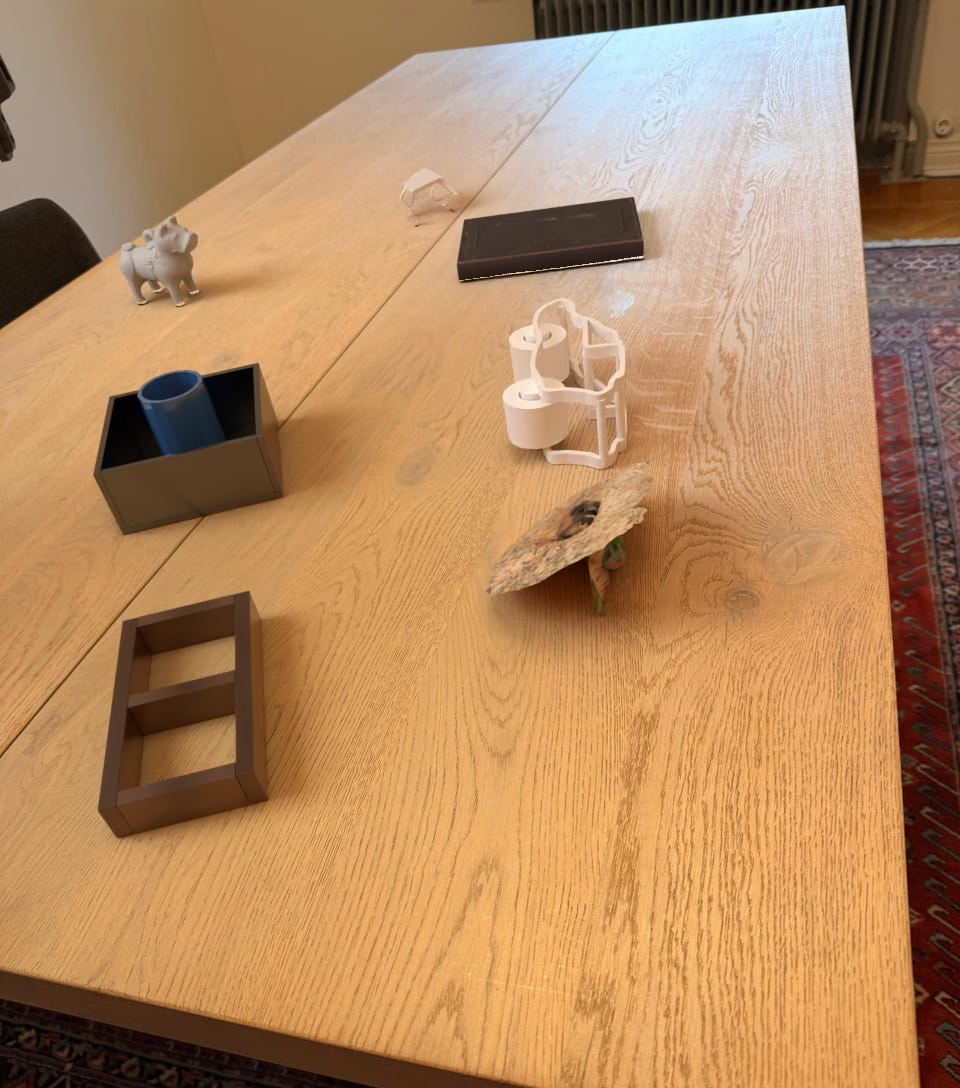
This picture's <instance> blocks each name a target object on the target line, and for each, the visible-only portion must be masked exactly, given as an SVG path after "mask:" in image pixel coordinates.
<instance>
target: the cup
mask: <svg viewBox="0 0 960 1088" xmlns="http://www.w3.org/2000/svg"><path fill="white" fill-rule="evenodd" d="M137 390H138V399H139V401H140V403H141V406H142V408H143V410H144V413H145V415H146V417H147V419H148V422H149V424H150V426H151V429H152V431H153V433H154V436H155V438H156V440H157V443H158V445H159V447H160V449H161V452H162V454H163V456H165V455H169V454H173V453H178V452H182V451H186V450H190V449H195V448H199V447H203V446H208V445H212V444H216V443H221V442H225V441H226V438H225V435H224V433H223V430H222V428H221V425H220V422H219V420H218V417H217V414H216V412H215V409H214V406H213V404H212V401H211V398H210V396H209V393H208V390H207V388H206V385H205V382H204V380H203V377H202V374H201V373H200V372H199V371H197V370H191V369H181V370H180V369H179V370H178V369H177V370H173V371H169V372H165V373H163V374H160V375H157V376H154V377H152V378H151V379H149V380H148V381H146V382H145V383H143V384H142V386H140V388H139V389H137Z"/></svg>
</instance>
